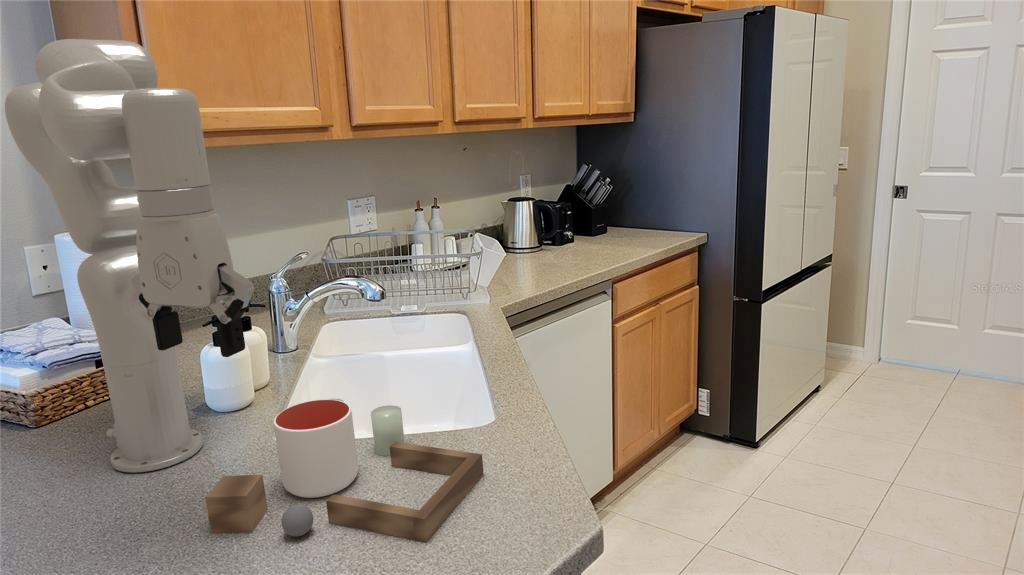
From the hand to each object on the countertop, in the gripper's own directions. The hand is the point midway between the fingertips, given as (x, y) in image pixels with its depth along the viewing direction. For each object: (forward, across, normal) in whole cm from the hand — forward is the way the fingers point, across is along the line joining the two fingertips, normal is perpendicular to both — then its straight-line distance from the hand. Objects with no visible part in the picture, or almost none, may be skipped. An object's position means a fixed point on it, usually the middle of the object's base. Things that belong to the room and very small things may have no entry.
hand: (201, 349), depth 81 cm
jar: (+22, +10, +22) cm, 33 cm away
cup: (+22, +6, +11) cm, 25 cm away
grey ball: (+22, +11, 0) cm, 25 cm away
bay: (+22, +19, +10) cm, 31 cm away
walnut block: (+22, +2, 0) cm, 22 cm away
